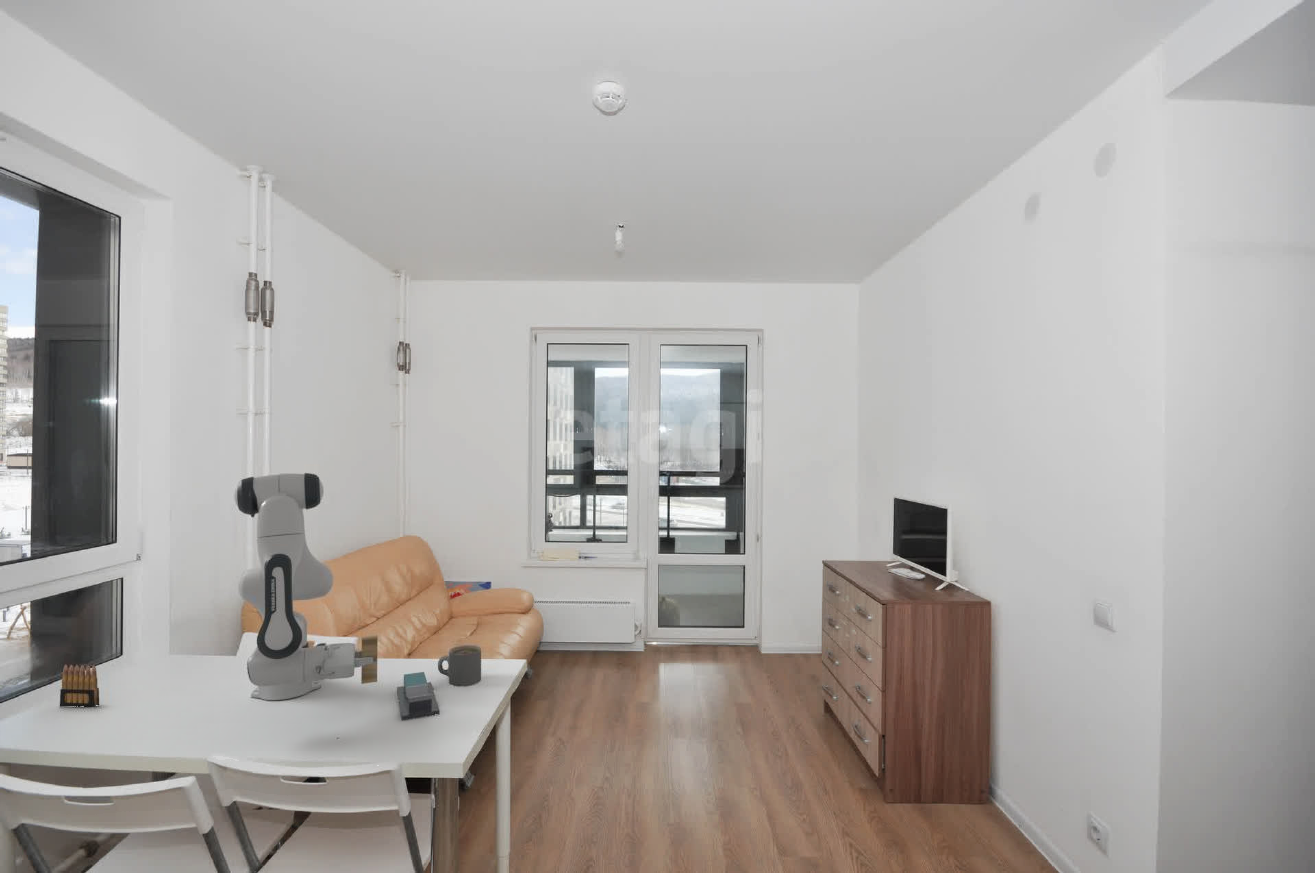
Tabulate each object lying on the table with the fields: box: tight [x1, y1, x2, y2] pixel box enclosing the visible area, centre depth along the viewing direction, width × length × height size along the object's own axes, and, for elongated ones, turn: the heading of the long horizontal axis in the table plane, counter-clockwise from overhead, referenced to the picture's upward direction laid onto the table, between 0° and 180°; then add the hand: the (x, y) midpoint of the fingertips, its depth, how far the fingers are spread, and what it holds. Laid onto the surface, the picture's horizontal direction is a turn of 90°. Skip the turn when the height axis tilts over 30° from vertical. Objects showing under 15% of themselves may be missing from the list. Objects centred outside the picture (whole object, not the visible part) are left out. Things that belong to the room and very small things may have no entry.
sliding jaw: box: [403, 671, 428, 698], centre depth 202 cm, size 12×6×3 cm, turn 24°
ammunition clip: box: [59, 664, 100, 708], centre depth 193 cm, size 11×2×12 cm, turn 86°
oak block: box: [360, 634, 378, 685], centre depth 184 cm, size 4×4×12 cm
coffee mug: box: [437, 644, 482, 688], centre depth 213 cm, size 13×10×10 cm
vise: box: [396, 681, 441, 721], centre depth 196 cm, size 24×10×4 cm, turn 24°
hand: (373, 656), depth 185 cm, fingers closed on oak block, 3 cm apart
